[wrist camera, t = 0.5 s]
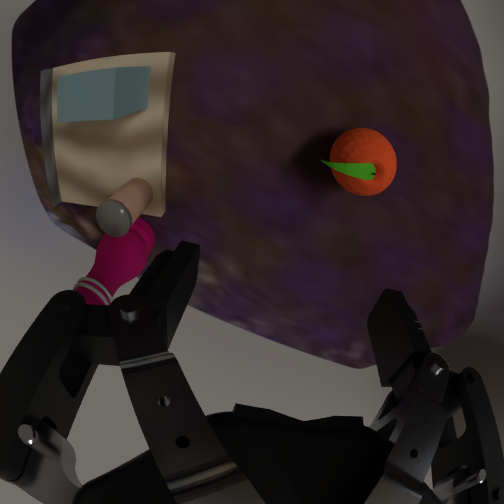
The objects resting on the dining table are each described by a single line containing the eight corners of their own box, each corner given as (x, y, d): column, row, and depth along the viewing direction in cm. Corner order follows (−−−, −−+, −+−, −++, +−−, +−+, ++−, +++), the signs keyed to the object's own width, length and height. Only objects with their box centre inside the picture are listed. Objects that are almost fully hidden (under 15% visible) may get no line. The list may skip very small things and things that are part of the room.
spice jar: (123, 175, 30) (93, 200, 24) (153, 178, 30) (126, 205, 24) (125, 205, 32) (99, 234, 27) (154, 209, 32) (130, 240, 27)
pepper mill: (112, 240, 38) (41, 342, 22) (120, 204, 34) (31, 310, 18) (151, 261, 39) (93, 374, 23) (165, 227, 35) (93, 349, 19)
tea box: (97, 71, 21) (57, 76, 16) (151, 66, 22) (115, 67, 16) (96, 110, 24) (57, 123, 19) (147, 109, 25) (113, 121, 19)
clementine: (313, 177, 29) (321, 205, 24) (316, 118, 25) (327, 130, 20) (378, 183, 29) (400, 211, 23) (386, 126, 25) (413, 142, 19)
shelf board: (56, 68, 22) (40, 70, 19) (175, 52, 22) (163, 51, 19) (64, 196, 34) (51, 205, 31) (165, 211, 34) (156, 223, 31)
